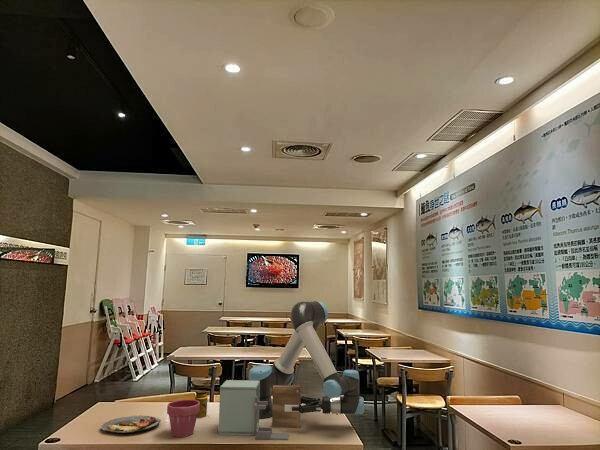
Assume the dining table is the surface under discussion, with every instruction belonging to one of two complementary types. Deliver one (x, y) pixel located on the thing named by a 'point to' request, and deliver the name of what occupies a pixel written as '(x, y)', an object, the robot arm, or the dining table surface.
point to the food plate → (130, 424)
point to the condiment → (202, 403)
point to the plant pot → (183, 416)
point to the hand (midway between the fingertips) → (285, 404)
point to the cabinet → (243, 410)
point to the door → (280, 399)
